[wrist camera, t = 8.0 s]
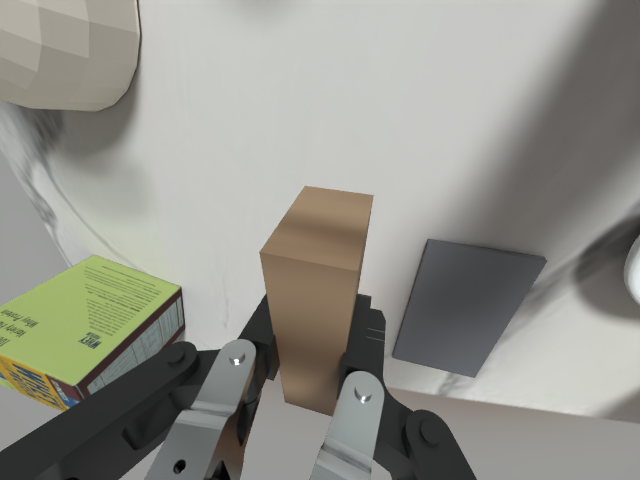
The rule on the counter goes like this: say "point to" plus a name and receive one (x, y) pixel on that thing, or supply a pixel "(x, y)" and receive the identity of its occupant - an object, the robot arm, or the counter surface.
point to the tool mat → (462, 304)
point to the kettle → (67, 52)
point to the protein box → (85, 330)
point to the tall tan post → (315, 290)
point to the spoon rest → (633, 271)
